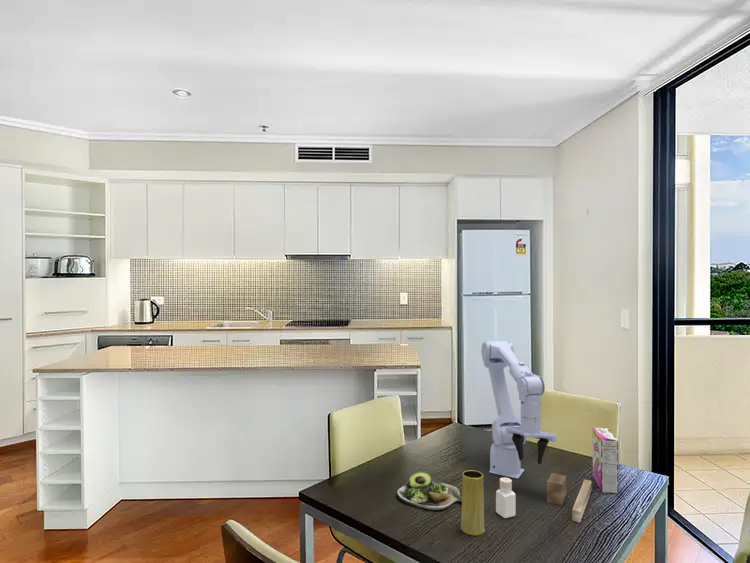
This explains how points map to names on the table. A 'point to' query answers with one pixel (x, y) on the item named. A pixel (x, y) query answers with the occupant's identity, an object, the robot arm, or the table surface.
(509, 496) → the pepper shaker
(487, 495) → the table surface
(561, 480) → the walnut block
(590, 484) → the maple board
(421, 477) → the salad plate
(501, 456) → the robot arm
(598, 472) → the candy bar box
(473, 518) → the vase
